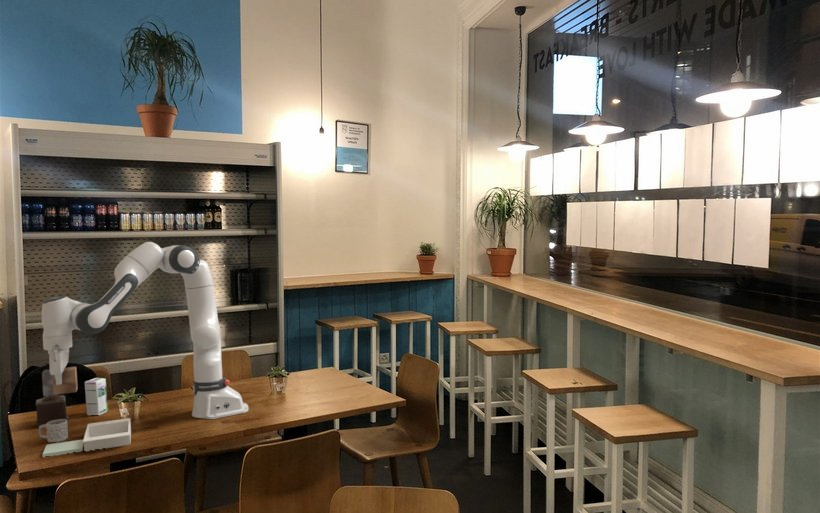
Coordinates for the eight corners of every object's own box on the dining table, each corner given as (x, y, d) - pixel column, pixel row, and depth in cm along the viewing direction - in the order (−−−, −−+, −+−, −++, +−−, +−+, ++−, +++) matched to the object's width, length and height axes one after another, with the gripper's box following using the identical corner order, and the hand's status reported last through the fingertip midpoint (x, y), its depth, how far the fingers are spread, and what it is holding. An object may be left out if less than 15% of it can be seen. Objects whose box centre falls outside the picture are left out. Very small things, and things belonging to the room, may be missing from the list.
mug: (71, 436, 232) (70, 418, 231) (62, 442, 225) (61, 424, 224) (44, 437, 231) (43, 419, 231) (34, 443, 225) (33, 425, 224)
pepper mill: (69, 423, 247) (66, 379, 246) (37, 428, 241) (34, 383, 240) (68, 413, 260) (65, 371, 259) (37, 418, 255) (34, 375, 253)
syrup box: (98, 416, 255) (96, 381, 255) (86, 415, 257) (84, 381, 256) (108, 411, 261) (106, 377, 260) (95, 411, 262) (94, 377, 261)
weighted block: (77, 388, 220) (76, 366, 220) (76, 392, 216) (74, 369, 215) (45, 392, 216) (44, 369, 216) (43, 395, 212) (41, 373, 211)
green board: (84, 442, 224) (84, 439, 224) (82, 451, 215) (82, 448, 215) (46, 448, 219) (46, 444, 219) (42, 457, 210) (42, 454, 210)
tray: (131, 429, 237) (130, 417, 237) (130, 447, 218) (129, 434, 218) (88, 435, 231) (87, 423, 231) (83, 454, 212) (83, 441, 212)
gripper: (64, 347, 207) (67, 387, 208) (71, 337, 226) (73, 374, 226) (43, 349, 204) (45, 390, 205) (51, 339, 223) (53, 376, 224)
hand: (60, 382), depth 216 cm, fingers closed on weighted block, 5 cm apart
